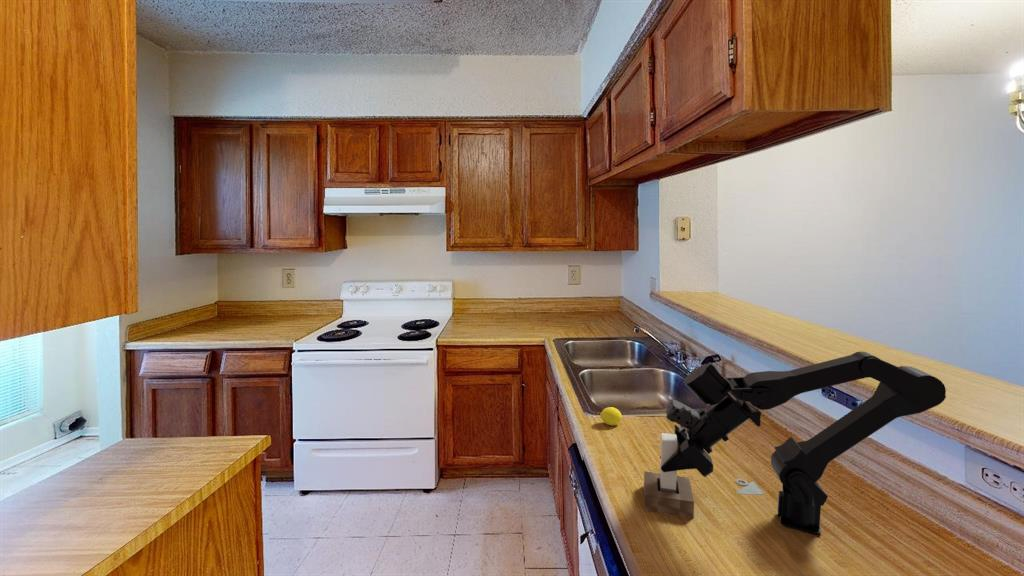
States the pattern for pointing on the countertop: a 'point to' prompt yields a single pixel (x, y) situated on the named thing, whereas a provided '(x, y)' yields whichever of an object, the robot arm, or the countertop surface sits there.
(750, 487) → the grey triangular pendant
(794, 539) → the countertop surface
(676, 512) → the post base
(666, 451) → the rail post
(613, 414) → the lemon
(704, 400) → the robot arm
